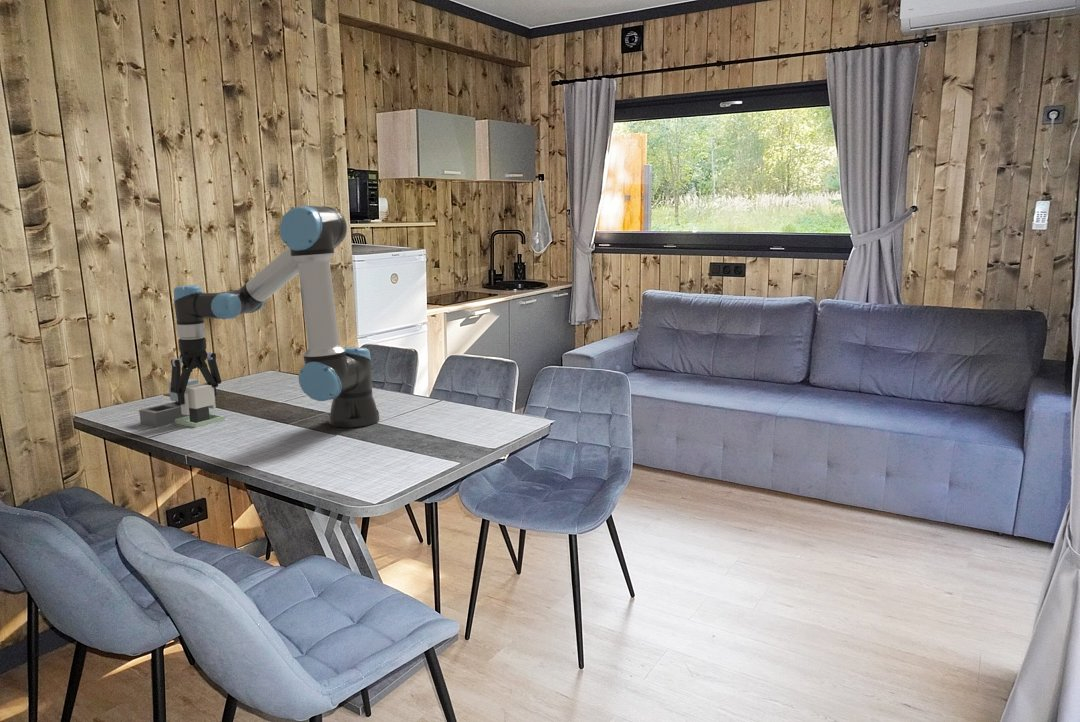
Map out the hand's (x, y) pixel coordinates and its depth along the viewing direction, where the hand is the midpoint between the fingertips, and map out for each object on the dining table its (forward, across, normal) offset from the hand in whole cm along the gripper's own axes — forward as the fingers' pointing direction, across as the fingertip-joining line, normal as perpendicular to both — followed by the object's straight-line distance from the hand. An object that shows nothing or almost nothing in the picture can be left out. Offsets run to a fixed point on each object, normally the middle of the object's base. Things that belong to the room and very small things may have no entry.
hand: (199, 411), depth 230 cm
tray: (+4, 0, 0) cm, 4 cm away
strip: (+4, 0, -10) cm, 10 cm away
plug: (+3, 0, 0) cm, 3 cm away
